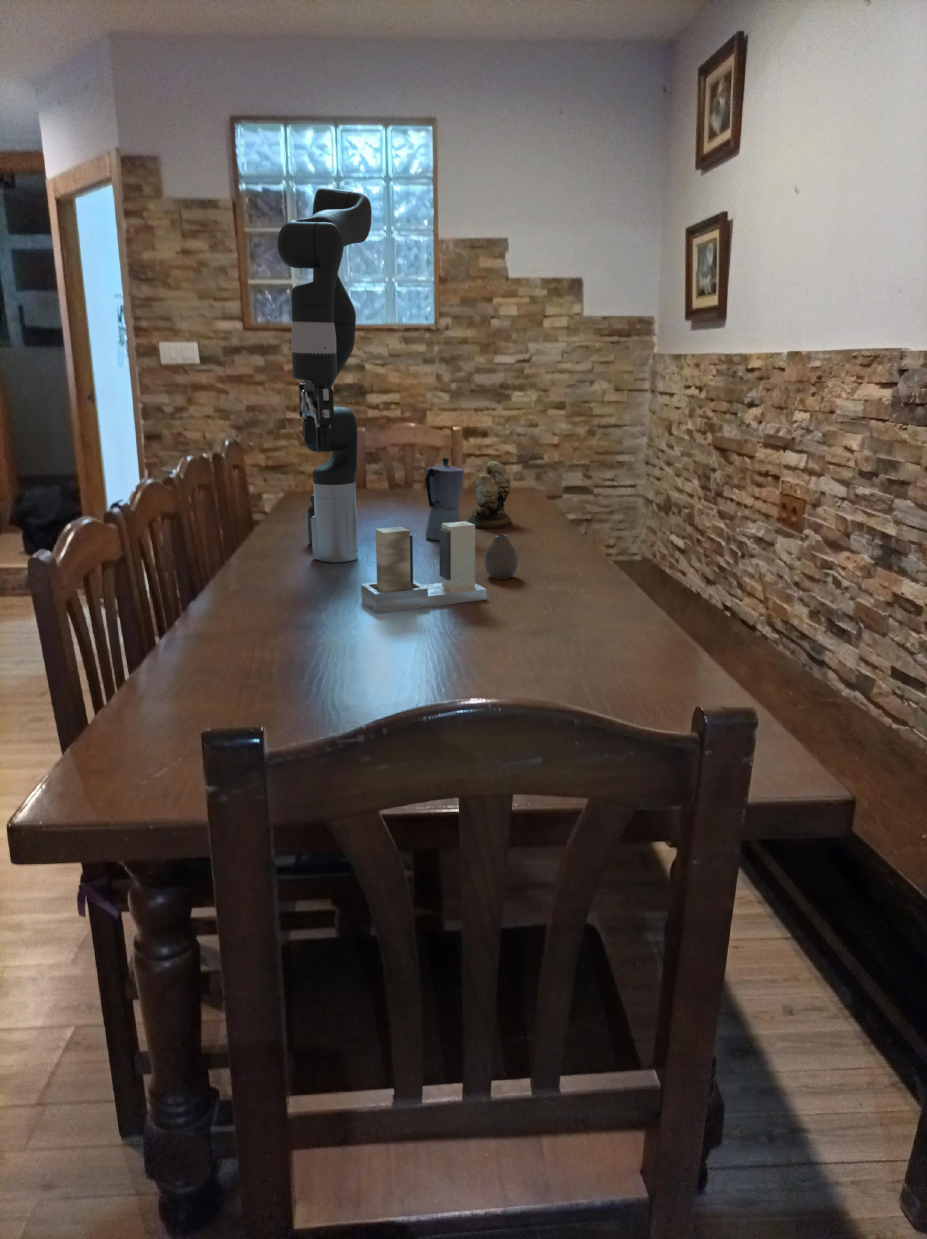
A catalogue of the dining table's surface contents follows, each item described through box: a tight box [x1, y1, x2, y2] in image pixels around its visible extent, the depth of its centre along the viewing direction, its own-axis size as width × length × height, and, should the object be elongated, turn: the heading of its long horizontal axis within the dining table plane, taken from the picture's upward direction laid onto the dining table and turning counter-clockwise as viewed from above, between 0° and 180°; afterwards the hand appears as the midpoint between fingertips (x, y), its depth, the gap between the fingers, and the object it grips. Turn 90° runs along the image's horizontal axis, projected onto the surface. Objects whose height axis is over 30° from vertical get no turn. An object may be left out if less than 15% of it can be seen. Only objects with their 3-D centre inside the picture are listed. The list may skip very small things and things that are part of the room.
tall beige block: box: [375, 526, 414, 592], centre depth 157 cm, size 6×4×12 cm
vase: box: [484, 534, 519, 580], centre depth 178 cm, size 7×7×9 cm
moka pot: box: [424, 457, 465, 541], centre depth 214 cm, size 10×15×20 cm, turn 155°
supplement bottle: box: [306, 493, 315, 547], centre depth 209 cm, size 7×7×12 cm
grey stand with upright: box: [360, 520, 488, 614], centre depth 160 cm, size 22×8×14 cm, turn 115°
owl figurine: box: [466, 460, 512, 530], centre depth 235 cm, size 18×12×17 cm, turn 169°
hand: (316, 446), depth 152 cm, fingers open, 8 cm apart
